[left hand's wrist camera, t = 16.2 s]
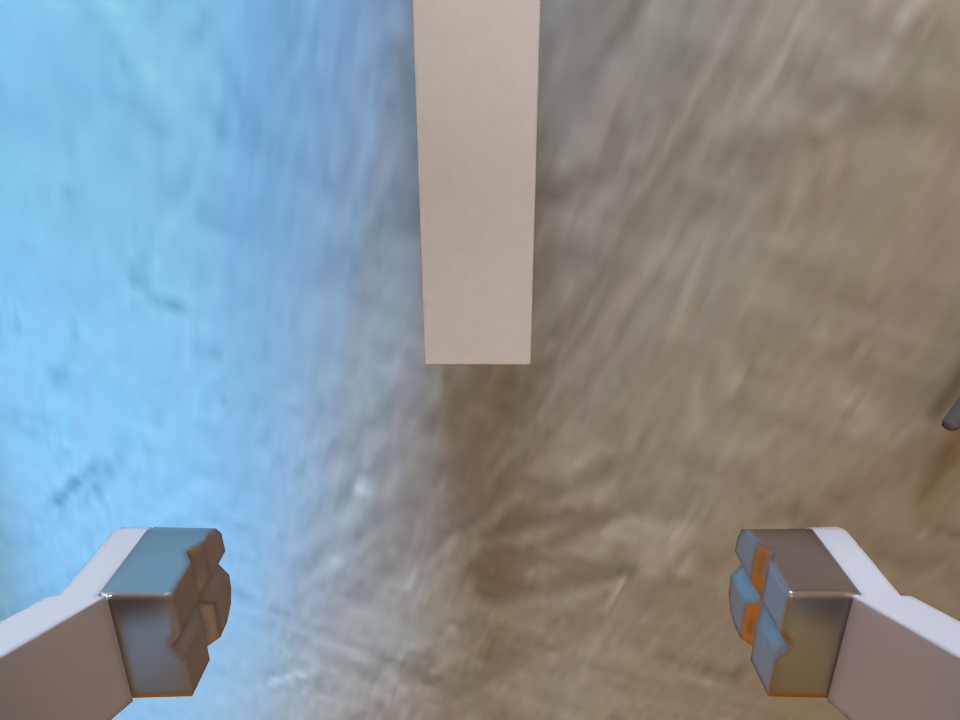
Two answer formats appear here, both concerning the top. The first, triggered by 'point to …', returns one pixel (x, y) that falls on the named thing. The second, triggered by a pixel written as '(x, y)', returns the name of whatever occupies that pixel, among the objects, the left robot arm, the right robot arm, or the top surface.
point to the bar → (477, 176)
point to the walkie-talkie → (952, 417)
